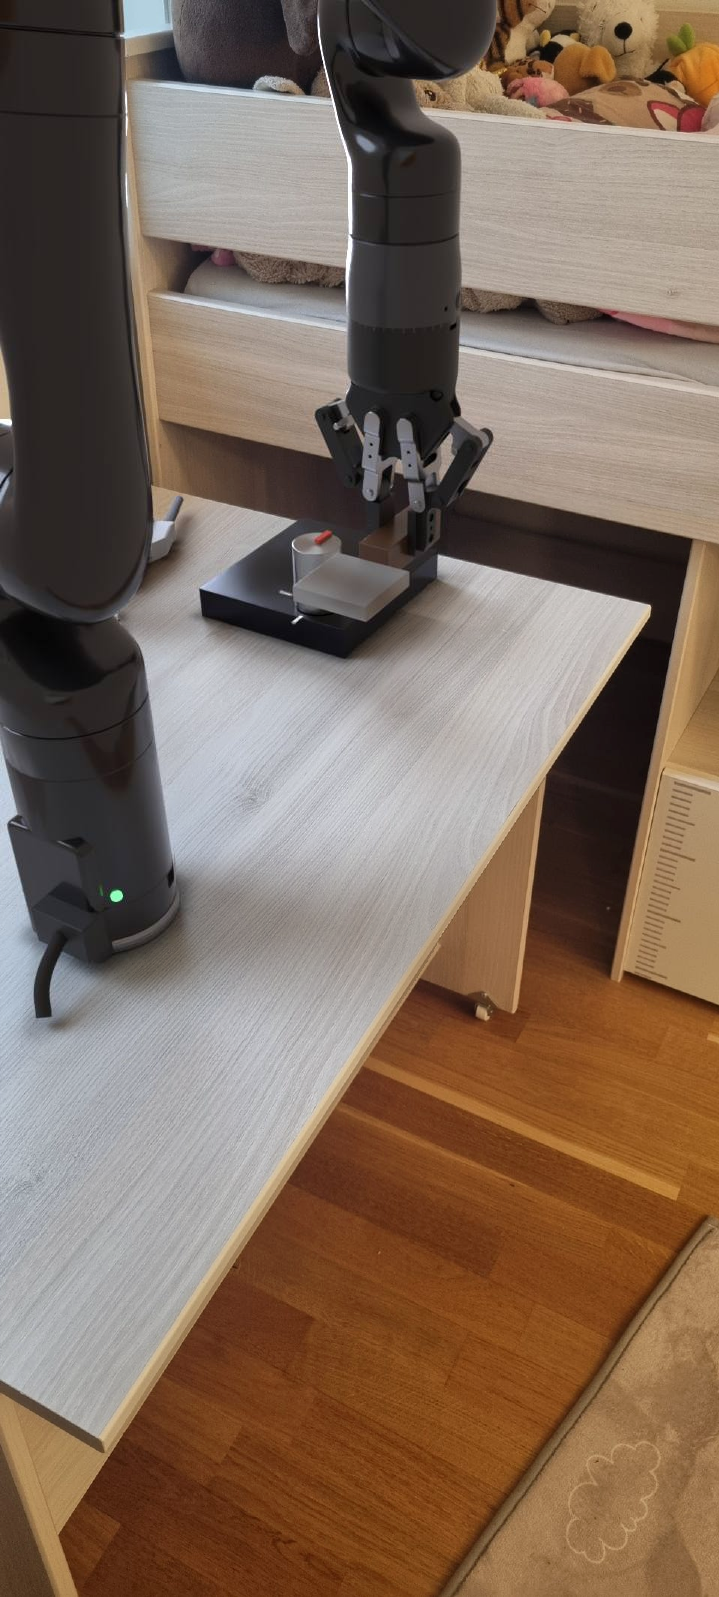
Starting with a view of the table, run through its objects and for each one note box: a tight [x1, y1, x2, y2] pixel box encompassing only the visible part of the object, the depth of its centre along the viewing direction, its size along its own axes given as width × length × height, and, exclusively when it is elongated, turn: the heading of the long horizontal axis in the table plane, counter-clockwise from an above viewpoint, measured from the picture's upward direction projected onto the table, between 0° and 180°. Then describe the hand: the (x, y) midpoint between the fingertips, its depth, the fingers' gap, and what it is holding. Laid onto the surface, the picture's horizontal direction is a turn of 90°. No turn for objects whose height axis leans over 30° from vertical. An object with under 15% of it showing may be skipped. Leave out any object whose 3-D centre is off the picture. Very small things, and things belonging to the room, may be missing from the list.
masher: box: [293, 504, 442, 622], centre depth 87 cm, size 14×6×2 cm, turn 149°
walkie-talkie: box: [148, 495, 185, 563], centre depth 125 cm, size 9×4×20 cm
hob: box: [198, 517, 439, 660], centre depth 116 cm, size 19×16×3 cm
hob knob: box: [292, 531, 342, 615], centre depth 108 cm, size 4×4×6 cm
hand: (400, 547), depth 89 cm, fingers closed on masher, 2 cm apart
